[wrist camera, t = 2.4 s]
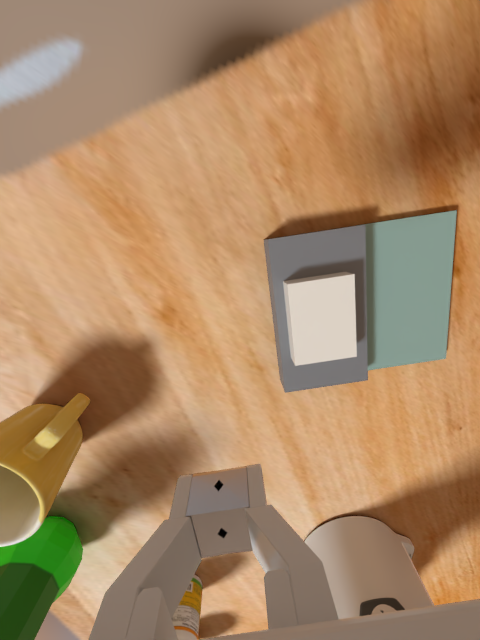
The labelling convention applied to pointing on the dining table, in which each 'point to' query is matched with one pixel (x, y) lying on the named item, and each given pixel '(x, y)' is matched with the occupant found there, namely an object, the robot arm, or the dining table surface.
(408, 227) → the mat
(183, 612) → the supplement bottle
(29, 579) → the plastic bottle
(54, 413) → the mug
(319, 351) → the tile
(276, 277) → the plate
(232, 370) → the dining table surface
